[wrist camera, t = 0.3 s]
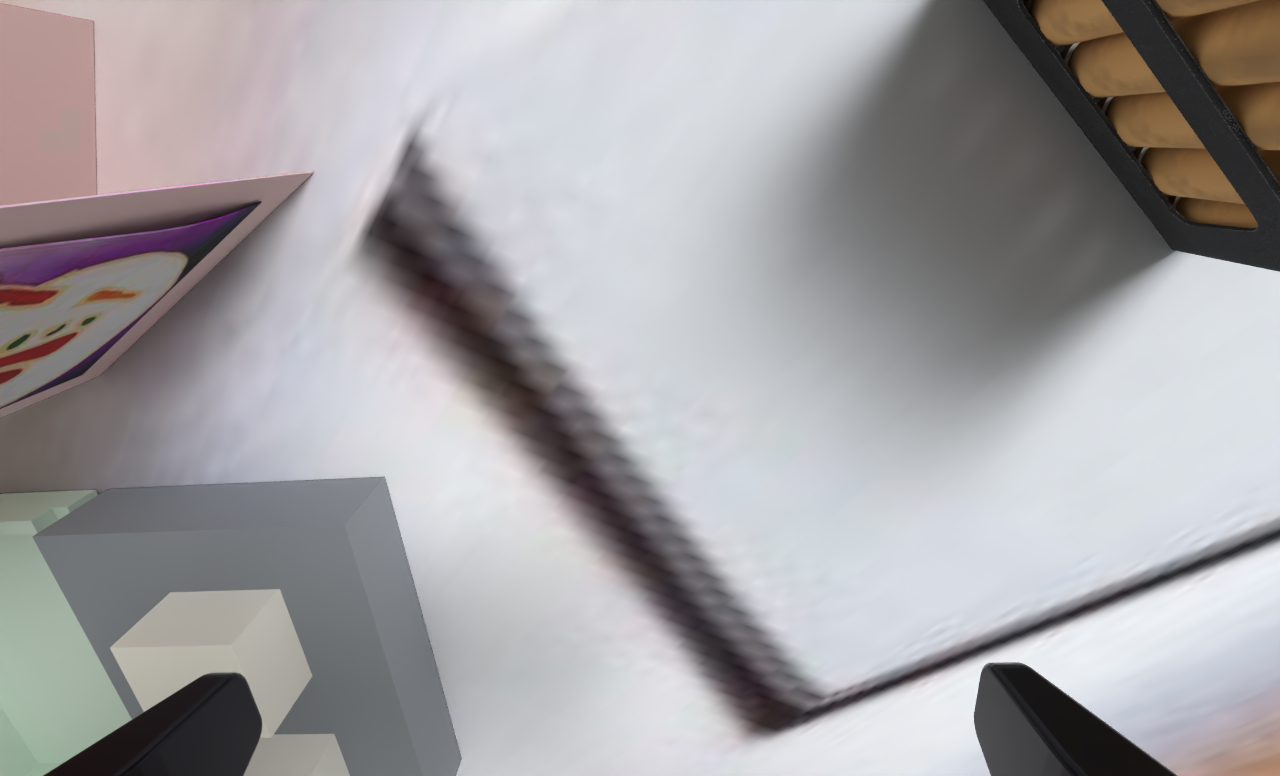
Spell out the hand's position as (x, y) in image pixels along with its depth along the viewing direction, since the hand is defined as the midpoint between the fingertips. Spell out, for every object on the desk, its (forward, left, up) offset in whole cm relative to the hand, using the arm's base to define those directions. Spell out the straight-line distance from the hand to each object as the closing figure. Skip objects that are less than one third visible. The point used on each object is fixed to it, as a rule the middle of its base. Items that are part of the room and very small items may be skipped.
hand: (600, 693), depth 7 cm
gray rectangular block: (-12, +16, -14) cm, 24 cm away
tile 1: (-9, +15, -11) cm, 21 cm away
